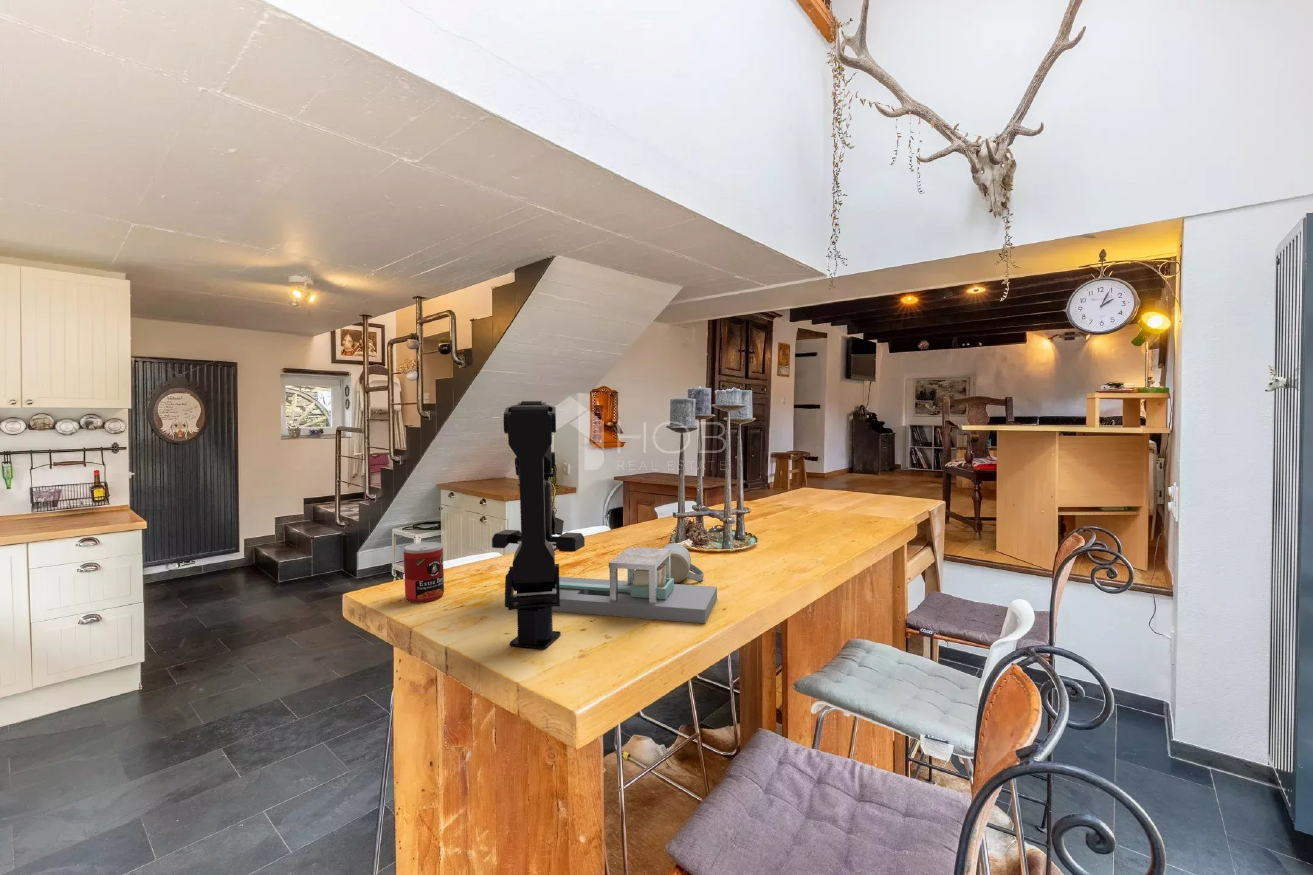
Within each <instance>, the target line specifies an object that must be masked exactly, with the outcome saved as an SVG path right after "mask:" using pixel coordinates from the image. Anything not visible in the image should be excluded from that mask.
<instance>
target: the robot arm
mask: <svg viewBox="0 0 1313 875" xmlns="http://www.w3.org/2000/svg"><path fill="white" fill-rule="evenodd" d="M556 408H557V407H555V406H553V405H550V404H547V402H545V401H543V400H521V401H520V402H517V404H515V405H510V406H508V407H506V408H505V409H504V412H503V420H502V421H503V432H504V434H505V435H506V434H507V439H508V440H507V441H508V442H507V443H508V446H509V448H510V449H511V451H512V453H513V454H514V455H515V458H514V468H515V475H516V476H518V478H519V502H520V503H519V505H520V530H517V529H504V530H501V531H499V532H495V533H494V534H493V536H492V537H491V548H493V549H506V548H507V546H508V545H509V544H512V545H513V544H516V545H517V544H518V546H517V549H516V550H515V553H514V556H513V560H512V566H509V567H508V568H509V569H508V572H507V574H506V575H505V583H504V584H505V585H504V608H507V609H508V611H512V610H516V615H517V616H516V618H517V619H516V620H517V636H516V637H515V638H513V639H512V640H511V641H509V646H511V647H519V648H520V647H521V648H531V649H539V650H541V649H542V650H543V649H544V650H545V649H546V648H548V646H549V647H550V645H551V644H552V643H553V642H554V641H555V640H557V639H558V638H559V637H560V636H561V634H562V632H561V631H559V630H553V628H554V627H553V611H552V607H554V606H557V607H560V589H559V577H560V563H556V555H555V554H556V553H555V552H556V551H558V552H563V553H564V552H565V553H574V552H575V553H576V552H577V551H578V550H580V549H582V548H583V547H585V546H586V544H585V542H586V541H585V536H584V535H583V533H581V532H565V533H563V530H564V522H565V520H564V519H562V518H559V517H556V516H555V515H556V513H555V510H554V509H552V508H553V507H552V488H553V486H552V483H551V481H550V479H549V478H556V451H553V450H552V443H553V434H554V433H557V414H556V412H557V411H556ZM555 535H558V536H555ZM555 585H556V593H553V594H538V595H524V596H514V595H515V592H516V593H517V594H523V593H537V592H552V588H555Z"/></svg>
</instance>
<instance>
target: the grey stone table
mask: <svg viewBox="0 0 1313 875" xmlns="http://www.w3.org/2000/svg"><path fill="white" fill-rule="evenodd" d="M670 554H671V549H663V547H662V548H659V547H643V546H642V547H641V546H640V547H639V546H638V547H637V546H628V548H626V549H625V550H623V551H622V552H621V553H619V554H618V555H617V556H616V557H614V558H613V559H611V560H610V561H609V562H608V569H609V580H610V601H617V600H618V579H619V576H618V575H619V573H618V569H622V570H623V569H625V570H626V569H627V581H628V584H634V583H635V570H636V569H639V570H649V604H656V603H657V567H658V566H659V565H660V564H661V563H662V562H663V563H664V566H666V578H671V560H670Z"/></svg>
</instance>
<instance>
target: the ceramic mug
mask: <svg viewBox="0 0 1313 875" xmlns="http://www.w3.org/2000/svg"><path fill="white" fill-rule="evenodd" d="M662 548H663V549H671V554H670V560H671V578H673V579H674V584H678V583H681V582H682V581H684V580H685V579H686V578H687V579H689V580H691V581H694V582H701V581H702V580H703V579H704V576H705V572H704V571H703V570H702V569H701V568H700V567H697V566H696V565H695V564H693V563H691V562H692V556H691V552H689V550H688V549H687V548H686V547H685V546H684V545H682V544H681V543H677V542H674V543H673V542H672V543H668V544H666V545H665V546H663V547H662ZM660 565H662V566H664V563H663V562H662V563H661V564H660Z"/></svg>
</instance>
